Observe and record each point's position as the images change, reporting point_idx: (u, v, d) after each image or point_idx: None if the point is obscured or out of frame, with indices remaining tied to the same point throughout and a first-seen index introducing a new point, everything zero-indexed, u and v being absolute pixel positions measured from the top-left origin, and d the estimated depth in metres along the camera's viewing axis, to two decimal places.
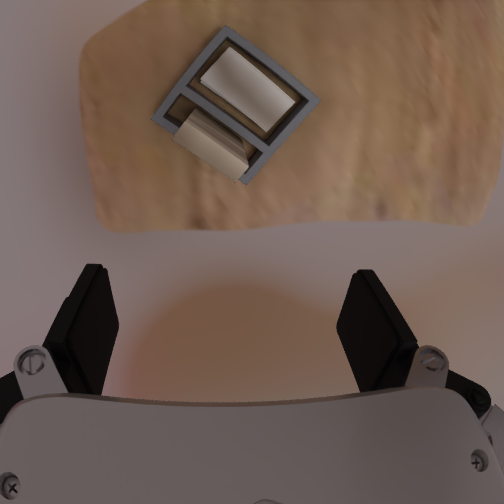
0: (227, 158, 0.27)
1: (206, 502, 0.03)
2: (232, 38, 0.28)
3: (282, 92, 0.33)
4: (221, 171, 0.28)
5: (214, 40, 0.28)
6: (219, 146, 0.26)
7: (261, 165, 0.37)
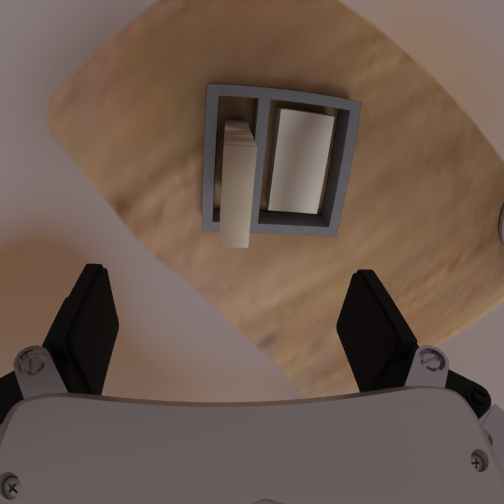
0: (241, 221, 0.21)
1: (206, 502, 0.03)
2: (350, 117, 0.26)
3: (318, 196, 0.31)
4: (221, 224, 0.21)
5: (338, 100, 0.25)
6: (250, 204, 0.20)
7: None
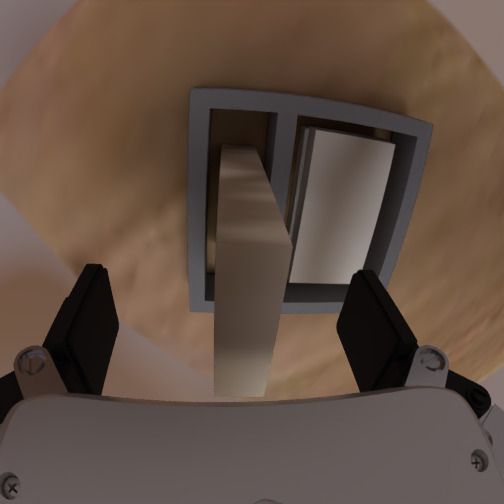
0: (254, 367, 0.11)
1: (206, 502, 0.03)
2: (417, 147, 0.16)
3: (362, 261, 0.21)
4: (218, 372, 0.11)
5: (402, 120, 0.15)
6: (271, 344, 0.10)
7: None
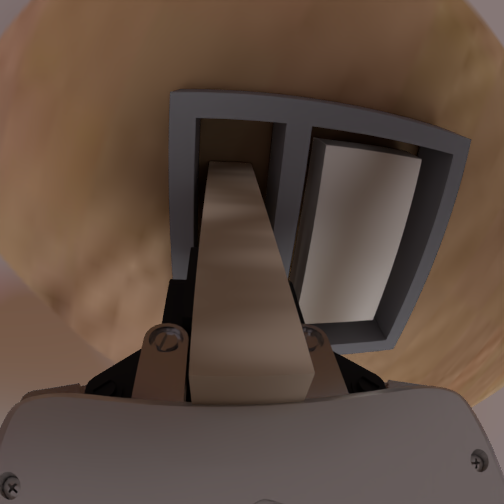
0: None
1: (206, 502, 0.03)
2: (452, 167, 0.13)
3: (379, 296, 0.17)
4: None
5: (438, 134, 0.12)
6: None
7: None
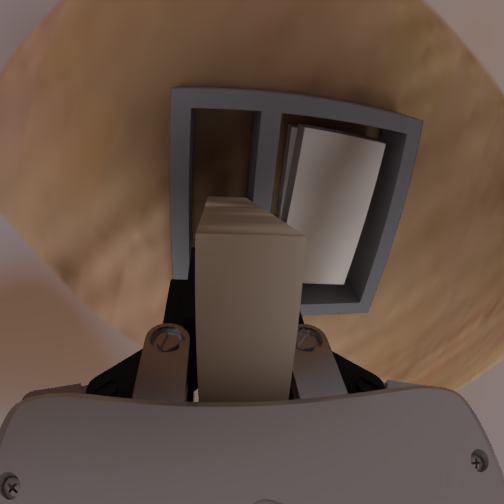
0: None
1: (206, 502, 0.03)
2: (406, 144, 0.16)
3: (349, 261, 0.21)
4: None
5: (391, 117, 0.15)
6: None
7: None
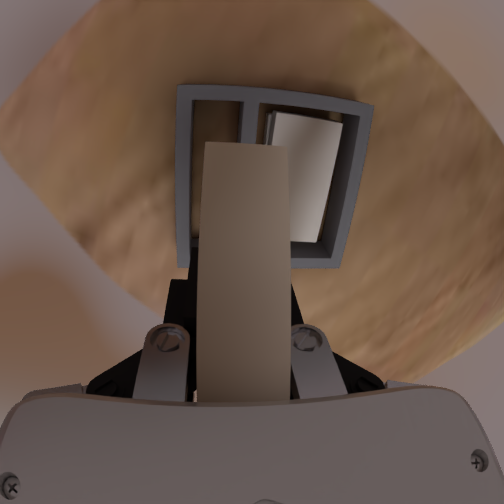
0: (264, 361, 0.06)
1: (206, 502, 0.03)
2: (360, 124, 0.21)
3: (319, 221, 0.25)
4: (203, 375, 0.06)
5: (346, 103, 0.20)
6: (286, 304, 0.07)
7: None
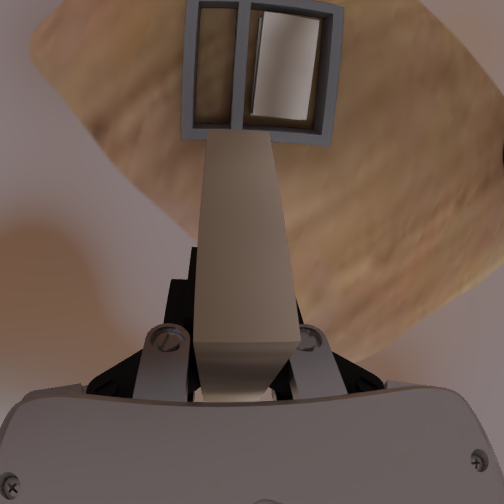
0: (264, 254, 0.07)
1: (206, 502, 0.03)
2: (334, 20, 0.22)
3: (307, 100, 0.26)
4: (203, 266, 0.07)
5: (320, 4, 0.21)
6: (279, 214, 0.08)
7: None
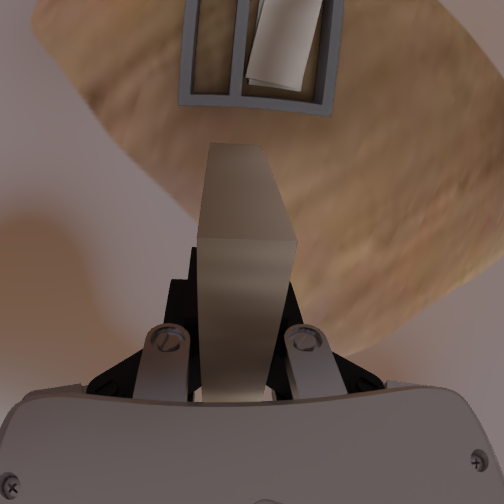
0: (260, 197, 0.08)
1: (206, 502, 0.03)
2: None
3: (302, 70, 0.25)
4: (207, 201, 0.08)
5: None
6: (271, 180, 0.09)
7: (213, 104, 0.25)
